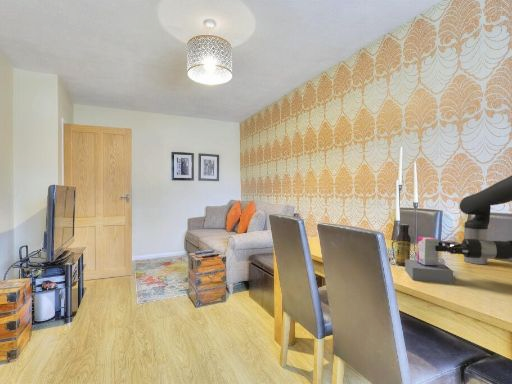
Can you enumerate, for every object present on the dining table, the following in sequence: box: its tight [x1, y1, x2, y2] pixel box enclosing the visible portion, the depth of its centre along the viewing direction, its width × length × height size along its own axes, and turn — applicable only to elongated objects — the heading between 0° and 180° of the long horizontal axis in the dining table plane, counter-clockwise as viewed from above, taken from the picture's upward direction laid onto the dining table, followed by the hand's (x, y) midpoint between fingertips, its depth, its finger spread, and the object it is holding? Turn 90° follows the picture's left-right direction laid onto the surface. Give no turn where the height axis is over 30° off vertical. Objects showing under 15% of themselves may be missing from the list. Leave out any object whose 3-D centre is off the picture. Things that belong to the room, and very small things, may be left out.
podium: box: [404, 259, 454, 285], centre depth 115 cm, size 14×14×5 cm
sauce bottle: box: [394, 223, 412, 267], centre depth 133 cm, size 7×6×20 cm
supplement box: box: [416, 236, 440, 266], centre depth 115 cm, size 6×6×12 cm
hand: (432, 246), depth 115 cm, fingers open, 8 cm apart
